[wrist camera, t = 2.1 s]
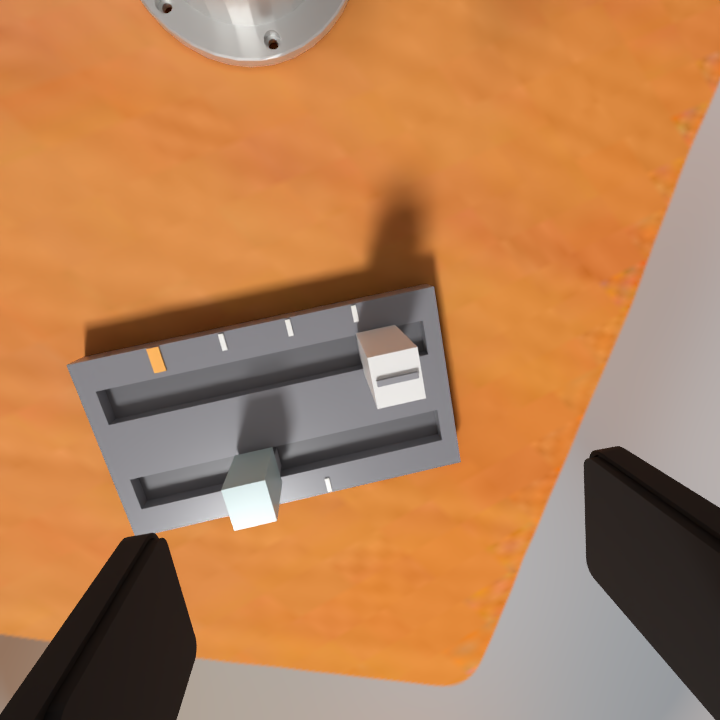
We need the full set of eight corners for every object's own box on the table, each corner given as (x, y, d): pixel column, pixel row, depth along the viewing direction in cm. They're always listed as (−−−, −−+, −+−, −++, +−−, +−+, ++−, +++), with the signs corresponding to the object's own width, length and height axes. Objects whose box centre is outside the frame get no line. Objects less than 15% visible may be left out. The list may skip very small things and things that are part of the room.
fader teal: (274, 438, 28) (265, 480, 23) (283, 473, 29) (277, 520, 24) (237, 446, 28) (221, 490, 23) (248, 481, 29) (234, 530, 24)
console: (425, 283, 28) (434, 286, 26) (451, 448, 31) (461, 462, 29) (84, 356, 27) (65, 365, 25) (147, 519, 30) (135, 538, 28)
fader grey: (391, 321, 27) (418, 347, 20) (398, 360, 28) (427, 399, 21) (354, 329, 27) (367, 359, 20) (362, 368, 28) (378, 410, 21)
